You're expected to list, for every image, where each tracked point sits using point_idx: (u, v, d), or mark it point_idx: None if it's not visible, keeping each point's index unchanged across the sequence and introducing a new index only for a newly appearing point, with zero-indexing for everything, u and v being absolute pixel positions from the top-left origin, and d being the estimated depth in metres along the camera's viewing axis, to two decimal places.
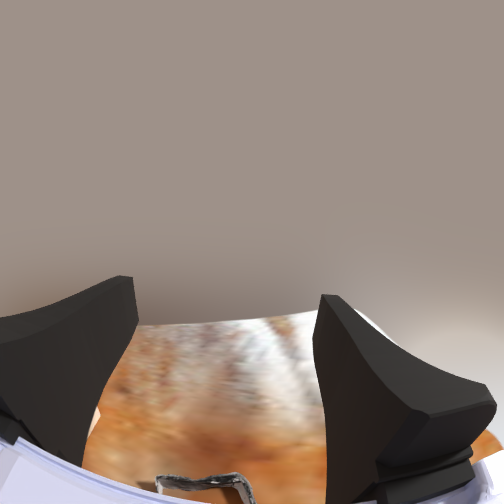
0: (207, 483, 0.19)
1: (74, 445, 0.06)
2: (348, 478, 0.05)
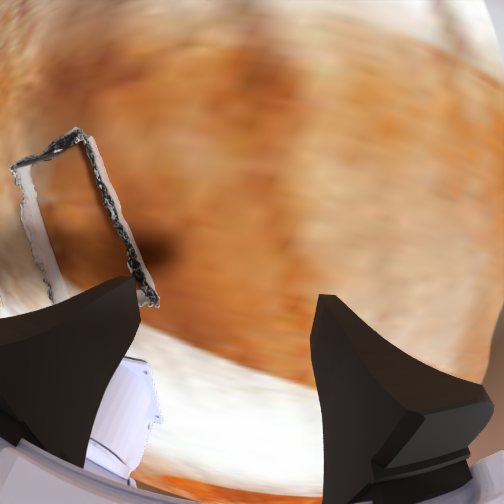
0: (53, 153, 0.15)
1: (76, 446, 0.06)
2: (344, 478, 0.05)
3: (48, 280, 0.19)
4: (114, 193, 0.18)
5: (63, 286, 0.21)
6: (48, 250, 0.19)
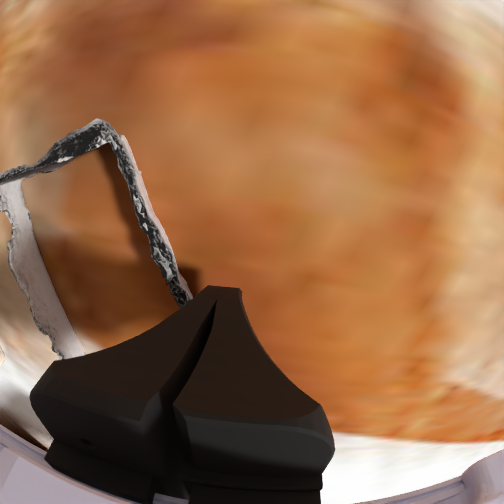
0: (56, 162, 0.09)
1: None
2: None
3: (59, 348, 0.13)
4: (163, 232, 0.12)
5: (80, 352, 0.15)
6: (54, 306, 0.13)
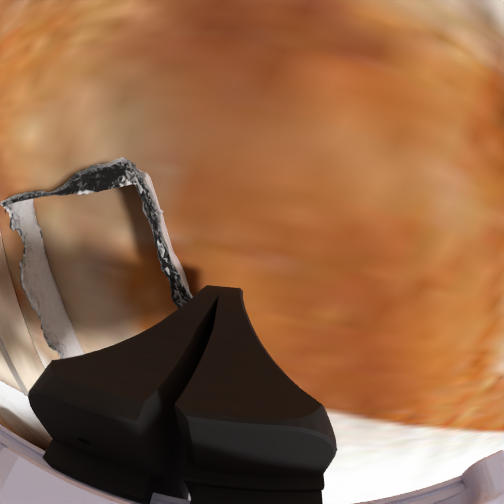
0: (75, 193, 0.10)
1: None
2: None
3: None
4: (181, 270, 0.12)
5: None
6: (63, 322, 0.14)
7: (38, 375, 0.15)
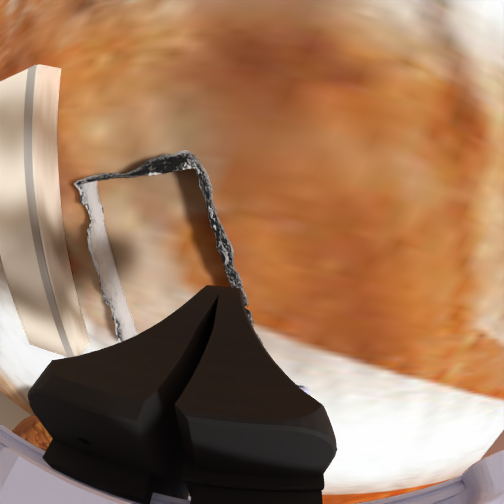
0: (145, 174, 0.15)
1: None
2: None
3: (117, 317, 0.18)
4: None
5: (130, 321, 0.20)
6: (116, 282, 0.19)
7: (82, 339, 0.21)
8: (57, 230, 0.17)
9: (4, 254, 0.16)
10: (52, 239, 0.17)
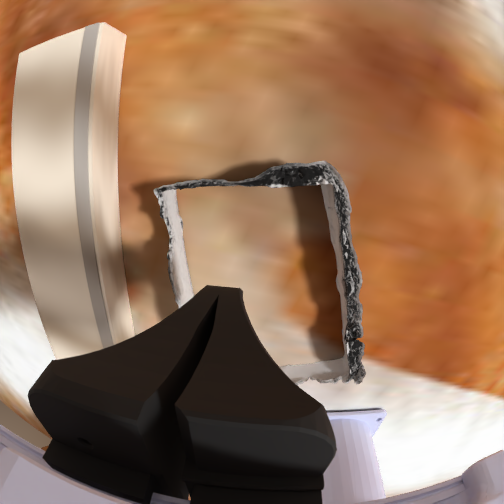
0: (262, 185, 0.12)
1: None
2: None
3: None
4: (336, 257, 0.15)
5: None
6: None
7: None
8: (115, 248, 0.14)
9: (34, 275, 0.14)
10: (109, 260, 0.14)
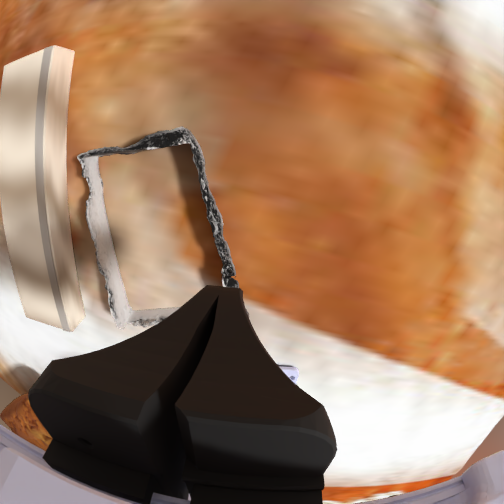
0: (143, 149, 0.16)
1: None
2: None
3: (110, 287, 0.19)
4: None
5: (123, 294, 0.21)
6: (111, 254, 0.19)
7: (78, 312, 0.21)
8: (61, 202, 0.18)
9: (8, 225, 0.17)
10: (56, 210, 0.17)
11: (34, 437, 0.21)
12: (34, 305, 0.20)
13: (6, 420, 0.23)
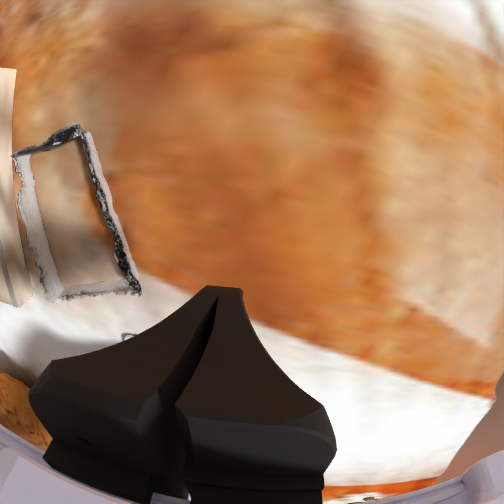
0: (52, 145, 0.16)
1: None
2: None
3: (40, 264, 0.20)
4: (106, 186, 0.19)
5: (54, 271, 0.21)
6: (41, 236, 0.20)
7: (26, 290, 0.22)
8: (8, 195, 0.18)
9: None
10: (3, 201, 0.18)
11: (0, 412, 0.22)
12: None
13: None
